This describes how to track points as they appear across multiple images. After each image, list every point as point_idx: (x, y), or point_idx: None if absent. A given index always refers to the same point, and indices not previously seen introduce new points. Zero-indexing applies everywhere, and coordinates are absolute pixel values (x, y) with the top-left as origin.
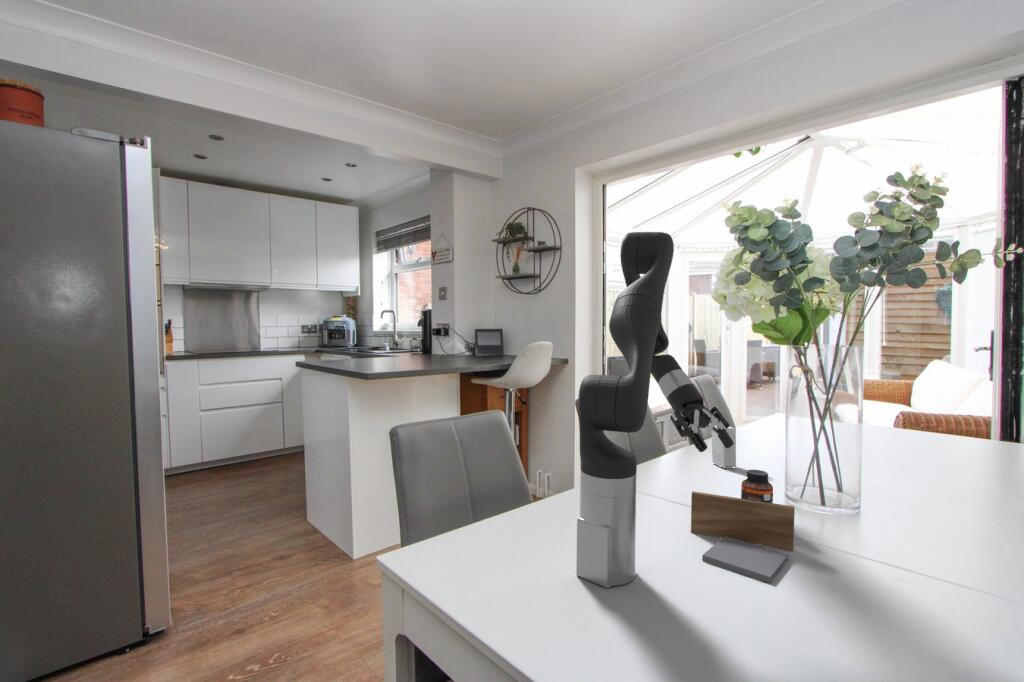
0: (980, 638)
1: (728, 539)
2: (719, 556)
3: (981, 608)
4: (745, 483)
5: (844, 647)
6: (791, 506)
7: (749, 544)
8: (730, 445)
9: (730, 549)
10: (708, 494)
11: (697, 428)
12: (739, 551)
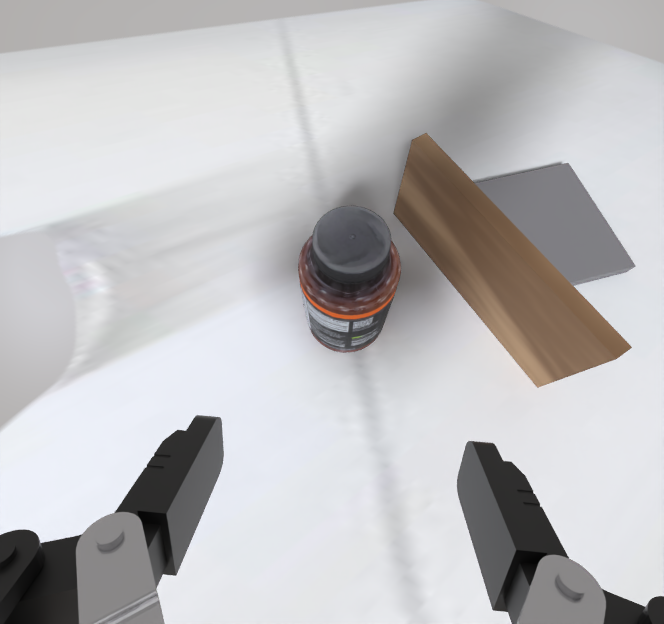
0: (424, 18)
1: None
2: (602, 245)
3: (341, 30)
4: (394, 278)
5: (597, 69)
6: (419, 142)
7: None
8: (220, 428)
9: (554, 251)
10: (579, 308)
11: (523, 608)
12: (541, 238)
